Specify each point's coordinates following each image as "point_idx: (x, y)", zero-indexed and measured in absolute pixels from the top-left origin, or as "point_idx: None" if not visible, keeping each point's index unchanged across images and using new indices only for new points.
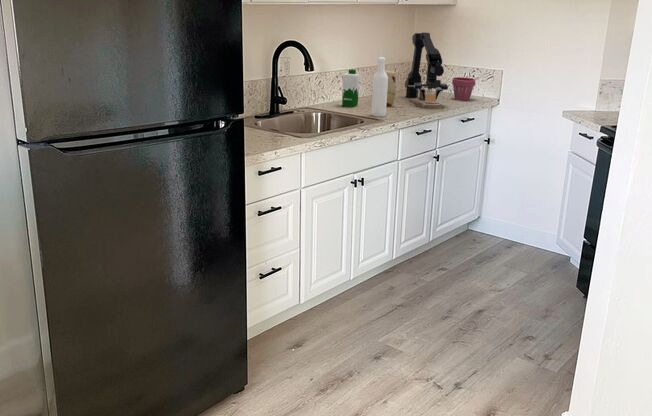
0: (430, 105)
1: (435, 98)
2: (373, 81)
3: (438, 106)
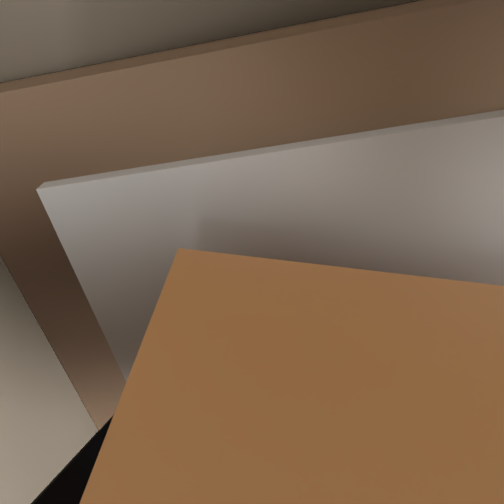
0: (435, 7)
1: (154, 355)
2: None
3: (104, 70)
